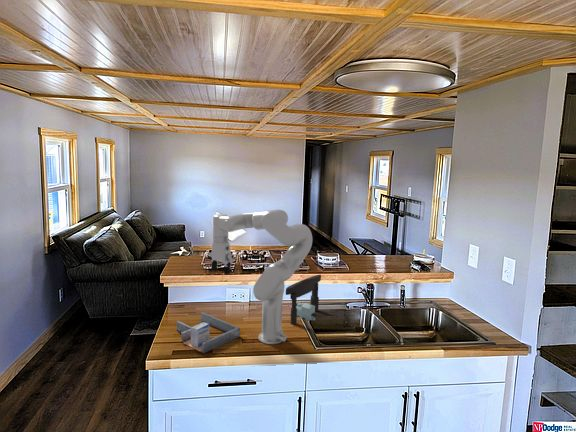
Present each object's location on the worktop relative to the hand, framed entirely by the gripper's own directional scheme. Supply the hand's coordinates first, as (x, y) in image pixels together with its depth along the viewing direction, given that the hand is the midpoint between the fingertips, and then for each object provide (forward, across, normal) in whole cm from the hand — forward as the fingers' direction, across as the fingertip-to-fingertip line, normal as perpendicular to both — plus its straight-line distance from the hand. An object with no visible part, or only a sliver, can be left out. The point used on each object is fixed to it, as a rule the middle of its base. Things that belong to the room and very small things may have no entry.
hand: (220, 271), depth 205 cm
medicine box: (+28, -9, +20) cm, 36 cm away
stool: (+29, -25, -38) cm, 54 cm away
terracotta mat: (+28, -9, +20) cm, 36 cm away
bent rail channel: (+28, -3, +14) cm, 32 cm away
